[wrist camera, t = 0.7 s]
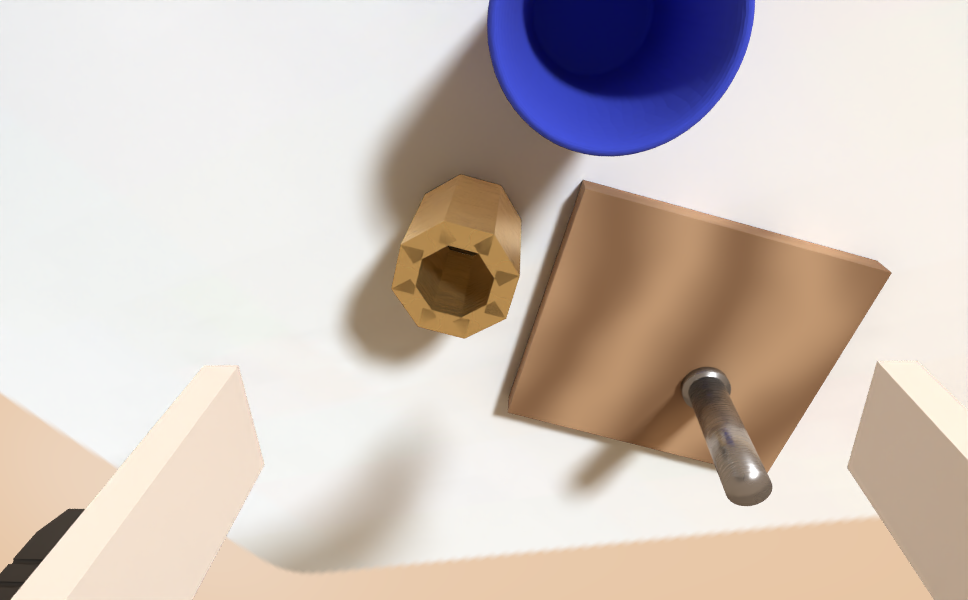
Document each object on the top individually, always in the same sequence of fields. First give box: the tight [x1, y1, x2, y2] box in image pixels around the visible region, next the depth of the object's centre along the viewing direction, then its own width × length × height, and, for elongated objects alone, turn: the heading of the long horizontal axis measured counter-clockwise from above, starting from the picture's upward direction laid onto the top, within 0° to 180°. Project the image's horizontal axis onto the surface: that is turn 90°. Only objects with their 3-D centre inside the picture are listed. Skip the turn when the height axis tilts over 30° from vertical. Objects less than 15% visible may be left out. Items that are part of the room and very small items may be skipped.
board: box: [508, 180, 891, 473], centre depth 35 cm, size 16×14×2 cm
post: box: [681, 367, 772, 506], centre depth 32 cm, size 3×3×8 cm
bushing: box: [391, 174, 521, 339], centre depth 30 cm, size 5×5×7 cm
